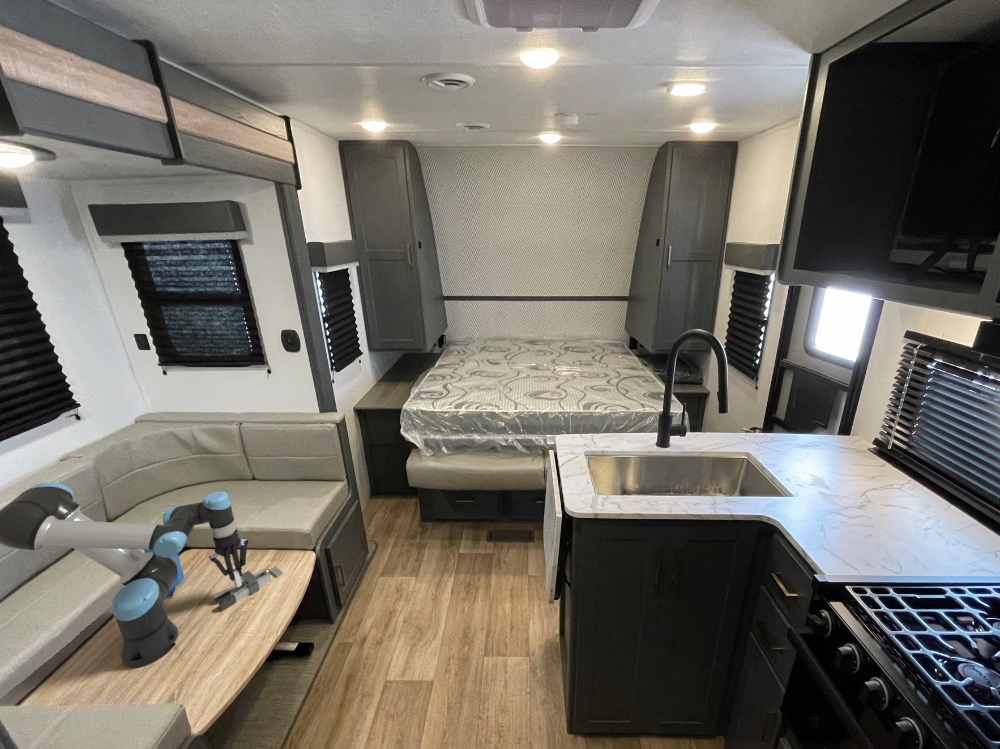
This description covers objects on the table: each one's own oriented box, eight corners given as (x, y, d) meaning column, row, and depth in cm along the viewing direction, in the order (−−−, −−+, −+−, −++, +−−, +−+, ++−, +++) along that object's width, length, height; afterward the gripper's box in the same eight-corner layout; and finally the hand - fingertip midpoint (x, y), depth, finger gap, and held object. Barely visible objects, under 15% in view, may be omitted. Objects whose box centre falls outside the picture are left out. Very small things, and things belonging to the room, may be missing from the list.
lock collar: (251, 595, 163) (248, 583, 162) (243, 586, 167) (240, 575, 166) (259, 590, 166) (257, 578, 164) (251, 582, 170) (248, 570, 168)
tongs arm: (218, 607, 158) (216, 599, 157) (214, 601, 160) (212, 594, 159) (270, 577, 172) (269, 570, 171) (266, 573, 174) (265, 565, 173)
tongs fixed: (222, 611, 156) (220, 605, 155) (215, 603, 160) (213, 597, 159) (283, 574, 174) (281, 568, 173) (275, 568, 177) (274, 562, 176)
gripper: (239, 519, 162) (251, 570, 169) (200, 538, 152) (215, 591, 159) (248, 526, 158) (260, 578, 165) (208, 546, 148) (223, 600, 155)
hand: (238, 584), depth 162 cm, fingers closed
